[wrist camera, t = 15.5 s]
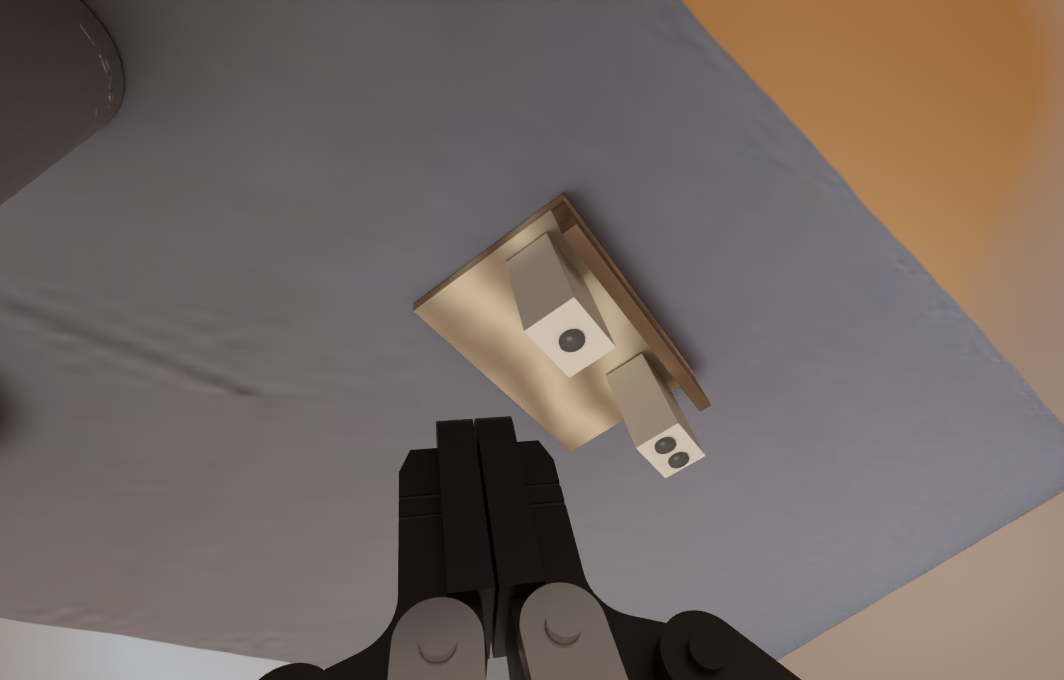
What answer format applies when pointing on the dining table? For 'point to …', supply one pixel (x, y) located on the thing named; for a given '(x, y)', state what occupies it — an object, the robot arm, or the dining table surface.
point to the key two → (654, 417)
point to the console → (519, 363)
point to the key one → (557, 307)
